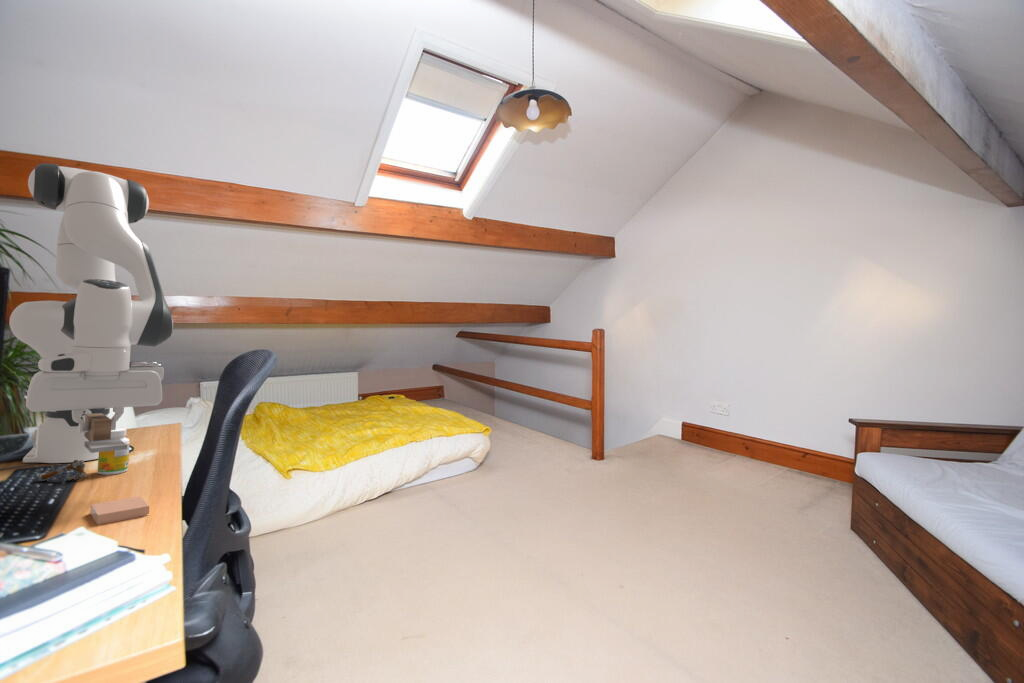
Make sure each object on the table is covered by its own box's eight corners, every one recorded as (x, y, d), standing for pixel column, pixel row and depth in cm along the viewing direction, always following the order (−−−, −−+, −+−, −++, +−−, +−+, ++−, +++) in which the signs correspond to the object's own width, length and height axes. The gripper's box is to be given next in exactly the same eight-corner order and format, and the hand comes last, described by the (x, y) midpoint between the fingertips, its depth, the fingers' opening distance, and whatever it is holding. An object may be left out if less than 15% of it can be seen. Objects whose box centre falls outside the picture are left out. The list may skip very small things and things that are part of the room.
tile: (91, 504, 84) (97, 515, 79) (140, 496, 89) (149, 505, 85) (90, 515, 84) (97, 527, 79) (139, 507, 89) (148, 517, 85)
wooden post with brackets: (88, 477, 101) (79, 458, 101) (46, 493, 99) (36, 474, 99) (93, 475, 103) (84, 456, 103) (52, 491, 101) (42, 472, 101)
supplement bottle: (91, 473, 107) (94, 430, 107) (119, 467, 112) (121, 426, 112) (106, 476, 105) (108, 432, 105) (133, 471, 110) (135, 429, 110)
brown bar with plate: (75, 436, 95) (77, 414, 95) (108, 434, 99) (109, 412, 99) (91, 452, 84) (92, 427, 84) (126, 449, 88) (128, 425, 88)
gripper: (160, 360, 104) (156, 423, 104) (27, 359, 88) (22, 433, 88) (168, 362, 99) (164, 428, 99) (30, 362, 84) (25, 439, 84)
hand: (97, 431), depth 94 cm, fingers closed on brown bar with plate, 2 cm apart
